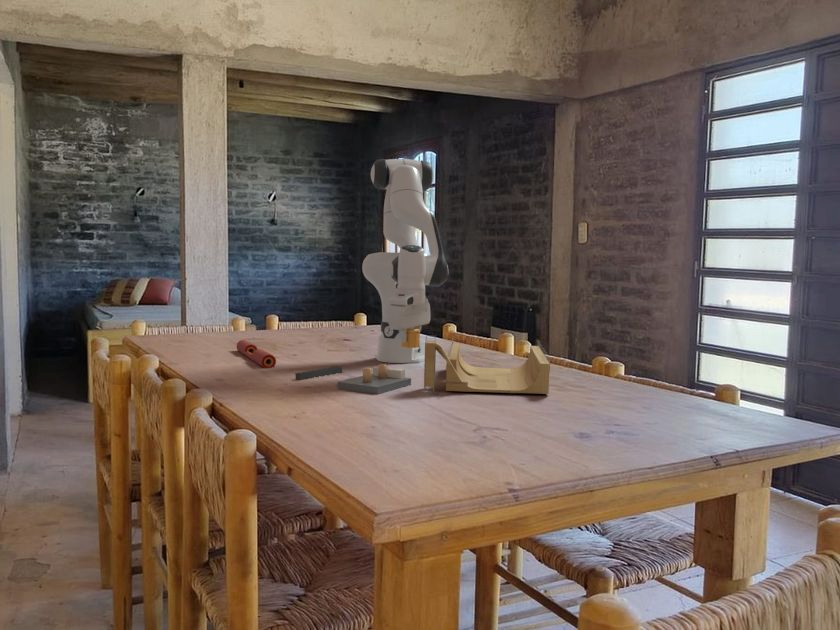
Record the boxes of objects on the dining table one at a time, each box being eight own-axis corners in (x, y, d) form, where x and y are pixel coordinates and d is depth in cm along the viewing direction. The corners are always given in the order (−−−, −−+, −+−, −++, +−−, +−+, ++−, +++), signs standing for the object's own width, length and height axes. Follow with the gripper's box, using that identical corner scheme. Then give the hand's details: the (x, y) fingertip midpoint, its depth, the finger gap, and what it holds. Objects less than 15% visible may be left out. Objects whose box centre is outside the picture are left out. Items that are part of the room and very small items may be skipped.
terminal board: (372, 379, 228) (372, 360, 228) (410, 384, 222) (411, 364, 221) (337, 388, 213) (337, 368, 212) (377, 394, 206) (378, 372, 205)
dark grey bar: (300, 371, 225) (290, 370, 227) (300, 380, 225) (290, 379, 227) (342, 365, 240) (332, 364, 242) (342, 373, 240) (332, 372, 242)
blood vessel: (236, 352, 283) (236, 339, 283) (249, 352, 285) (249, 339, 285) (261, 369, 246) (261, 354, 245) (276, 369, 248) (276, 354, 247)
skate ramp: (548, 397, 209) (550, 340, 207) (423, 393, 211) (425, 337, 210) (537, 374, 248) (539, 326, 247) (432, 370, 251) (433, 323, 250)
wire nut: (407, 344, 238) (407, 327, 238) (422, 346, 235) (422, 328, 235) (397, 346, 233) (398, 329, 233) (413, 348, 231) (413, 330, 230)
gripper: (419, 294, 243) (418, 335, 245) (385, 299, 225) (384, 343, 227) (435, 295, 240) (434, 337, 242) (402, 300, 222) (401, 345, 224)
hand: (410, 340), depth 234 cm, fingers closed on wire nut, 6 cm apart
